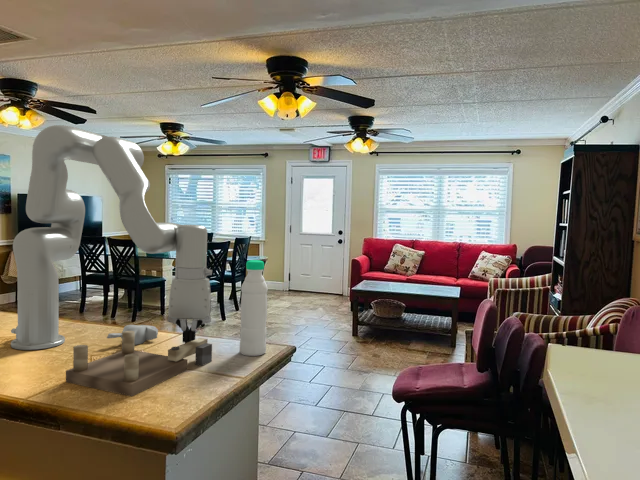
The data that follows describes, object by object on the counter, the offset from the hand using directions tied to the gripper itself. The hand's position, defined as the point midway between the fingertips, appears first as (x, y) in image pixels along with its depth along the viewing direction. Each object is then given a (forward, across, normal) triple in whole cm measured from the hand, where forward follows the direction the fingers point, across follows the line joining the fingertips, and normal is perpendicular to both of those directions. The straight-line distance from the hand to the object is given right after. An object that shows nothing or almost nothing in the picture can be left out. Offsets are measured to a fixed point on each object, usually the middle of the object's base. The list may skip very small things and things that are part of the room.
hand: (188, 345), depth 120 cm
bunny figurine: (+4, +17, -15) cm, 23 cm away
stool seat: (+4, +9, +9) cm, 13 cm away
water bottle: (+4, -16, -5) cm, 17 cm away
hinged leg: (+1, -1, +5) cm, 5 cm away
